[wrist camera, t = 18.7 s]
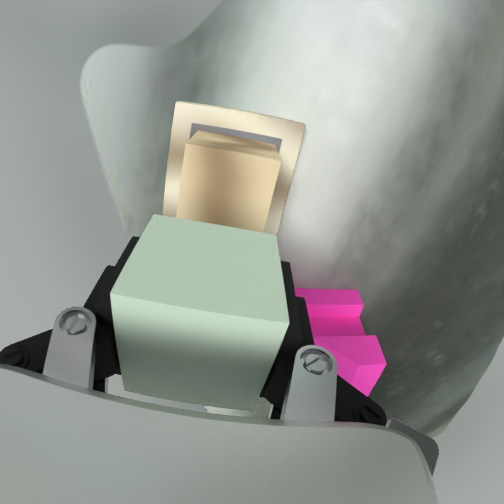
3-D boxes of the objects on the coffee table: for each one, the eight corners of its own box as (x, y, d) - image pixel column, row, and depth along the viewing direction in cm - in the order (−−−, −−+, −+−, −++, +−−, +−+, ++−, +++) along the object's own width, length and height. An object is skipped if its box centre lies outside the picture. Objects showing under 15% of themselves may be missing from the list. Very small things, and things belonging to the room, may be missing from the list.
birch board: (275, 231, 29) (276, 237, 28) (165, 213, 27) (162, 218, 27) (303, 123, 23) (305, 125, 22) (178, 100, 22) (175, 102, 21)
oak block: (275, 144, 23) (281, 161, 19) (258, 213, 26) (260, 243, 22) (198, 130, 23) (185, 143, 18) (187, 200, 26) (175, 228, 21)
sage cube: (251, 323, 14) (252, 410, 10) (151, 306, 13) (124, 390, 10) (276, 234, 12) (289, 322, 8) (153, 213, 11) (110, 293, 7)
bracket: (357, 289, 32) (386, 363, 24) (335, 352, 38) (351, 421, 29) (243, 285, 32) (242, 366, 23) (239, 351, 37) (238, 425, 28)
